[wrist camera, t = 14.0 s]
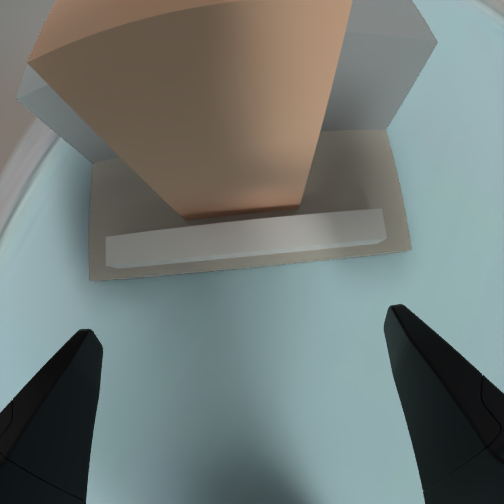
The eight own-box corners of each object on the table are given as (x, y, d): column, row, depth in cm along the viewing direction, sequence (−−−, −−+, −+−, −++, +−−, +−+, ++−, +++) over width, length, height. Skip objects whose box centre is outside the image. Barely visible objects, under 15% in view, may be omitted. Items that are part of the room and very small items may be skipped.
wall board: (406, 251, 17) (501, 211, 8) (96, 281, 18) (-12, 263, 9) (367, 88, 19) (405, -9, 10) (103, 120, 19) (36, 43, 11)
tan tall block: (298, 208, 17) (367, -74, 2) (185, 220, 17) (-16, 16, 3) (289, 141, 17) (307, -124, 3) (183, 153, 18) (55, -72, 3)
